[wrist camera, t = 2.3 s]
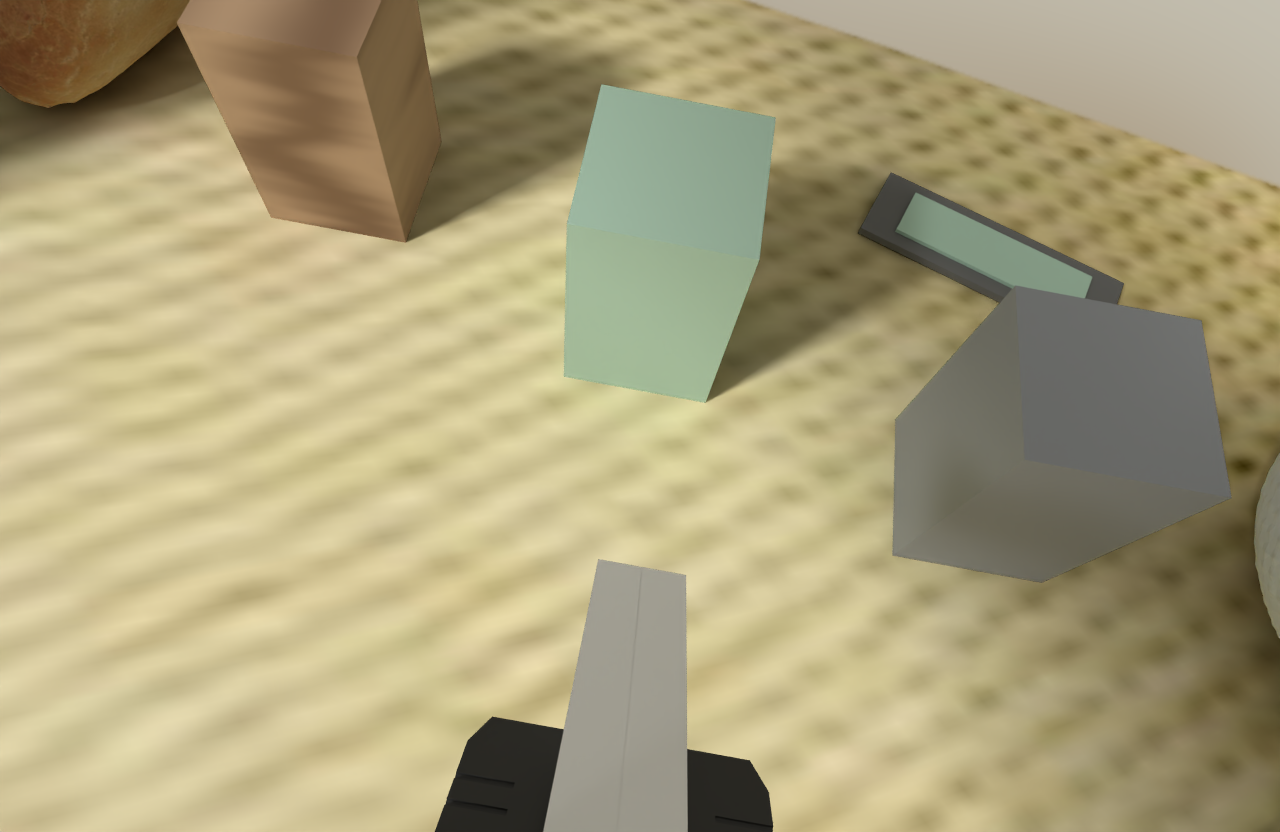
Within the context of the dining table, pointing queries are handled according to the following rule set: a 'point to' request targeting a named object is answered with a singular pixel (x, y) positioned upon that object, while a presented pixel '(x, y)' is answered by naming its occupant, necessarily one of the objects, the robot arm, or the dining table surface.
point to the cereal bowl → (1269, 543)
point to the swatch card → (975, 247)
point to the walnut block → (324, 105)
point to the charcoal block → (1057, 438)
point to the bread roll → (76, 44)
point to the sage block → (662, 240)
